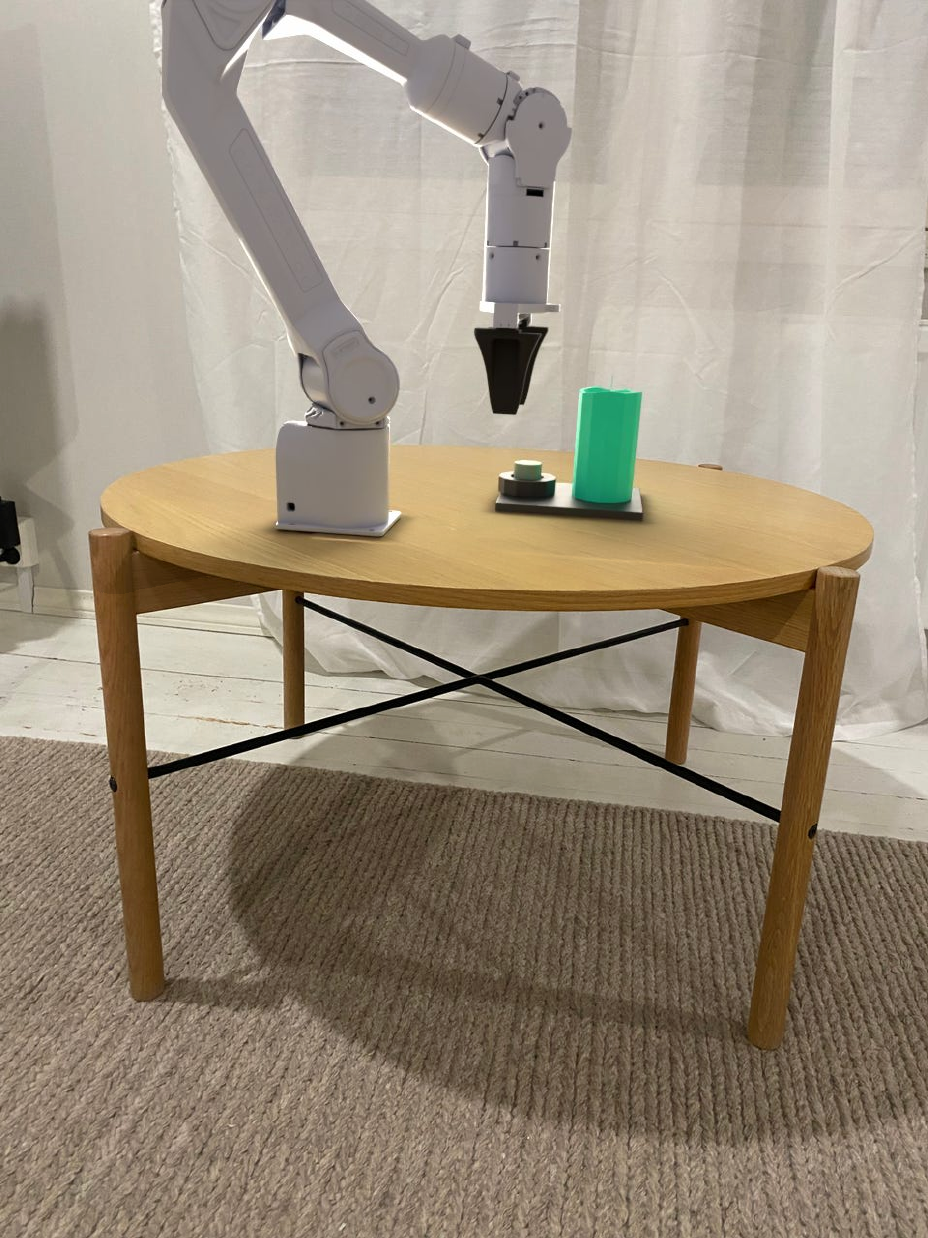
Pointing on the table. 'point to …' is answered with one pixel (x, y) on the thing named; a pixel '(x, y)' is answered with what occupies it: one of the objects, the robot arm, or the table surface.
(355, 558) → the table surface
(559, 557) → the table surface
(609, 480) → the candle
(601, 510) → the scale
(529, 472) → the button
